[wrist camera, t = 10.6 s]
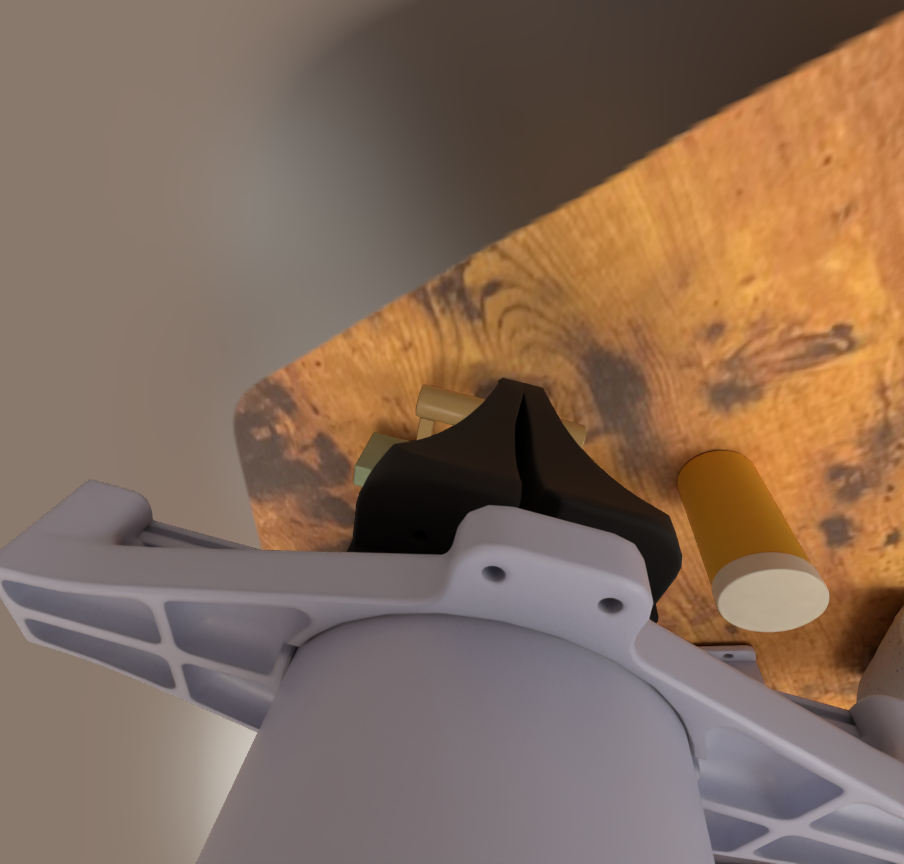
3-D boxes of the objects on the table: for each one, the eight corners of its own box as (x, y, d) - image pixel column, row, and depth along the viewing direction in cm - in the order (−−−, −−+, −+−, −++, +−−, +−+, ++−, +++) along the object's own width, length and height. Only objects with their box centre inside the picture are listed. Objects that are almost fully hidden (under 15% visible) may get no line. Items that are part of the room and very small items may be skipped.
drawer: (382, 355, 21) (361, 385, 19) (633, 420, 20) (644, 459, 18) (355, 584, 30) (340, 622, 28) (526, 631, 30) (524, 673, 28)
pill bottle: (772, 481, 22) (850, 610, 16) (703, 516, 24) (752, 643, 18) (728, 435, 21) (795, 554, 15) (660, 475, 23) (697, 595, 17)
